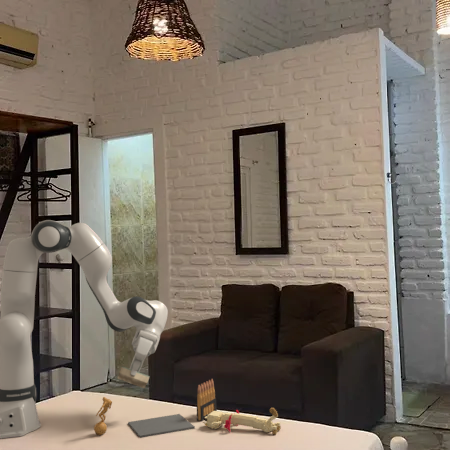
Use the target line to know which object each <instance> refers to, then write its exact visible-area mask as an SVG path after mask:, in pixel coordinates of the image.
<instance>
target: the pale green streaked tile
mask: <svg viewBox="0 0 450 450" xmlns="http://www.w3.org/2000/svg"><path fill="white" fill-rule="evenodd" d="M131 371H132V370H131V369H130V367H126V366H123V365H122V366H121V367H120V370H119V373H118V375H117V378H116V379H118V380H120V381H123V382H126V383H128V384H130V383H131V385H134V386H136V387H140V388H141V389H146V387H147V384H148V383H149V379H150V375H147V374H144V373H141V372H137V373H136V375H135V377H133V376H131V375H130V373H131Z"/></svg>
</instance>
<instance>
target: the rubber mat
mask: <svg viewBox="0 0 450 450" xmlns="http://www.w3.org/2000/svg"><path fill="white" fill-rule="evenodd" d="M127 424H128V426H129V427H130V428H131V429H132V430H133V431H134V433H135V434H136V435H137V436H138V437H139V438H147V437H152V436H158V435H165V434H171V433H176V432H181V431H187V430H193V429H194V430H195V429H196V427H195V426H194V424H193V423H191V422H190V421H189V420H187V419H186V418H185V417H184V416H182V415H181V414H180V413H178V414H177V413H176V414H170V415H164V416H158V417H151V418H145V419H139V420H133V421H132V420H131V421H128V422H127Z"/></svg>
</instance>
